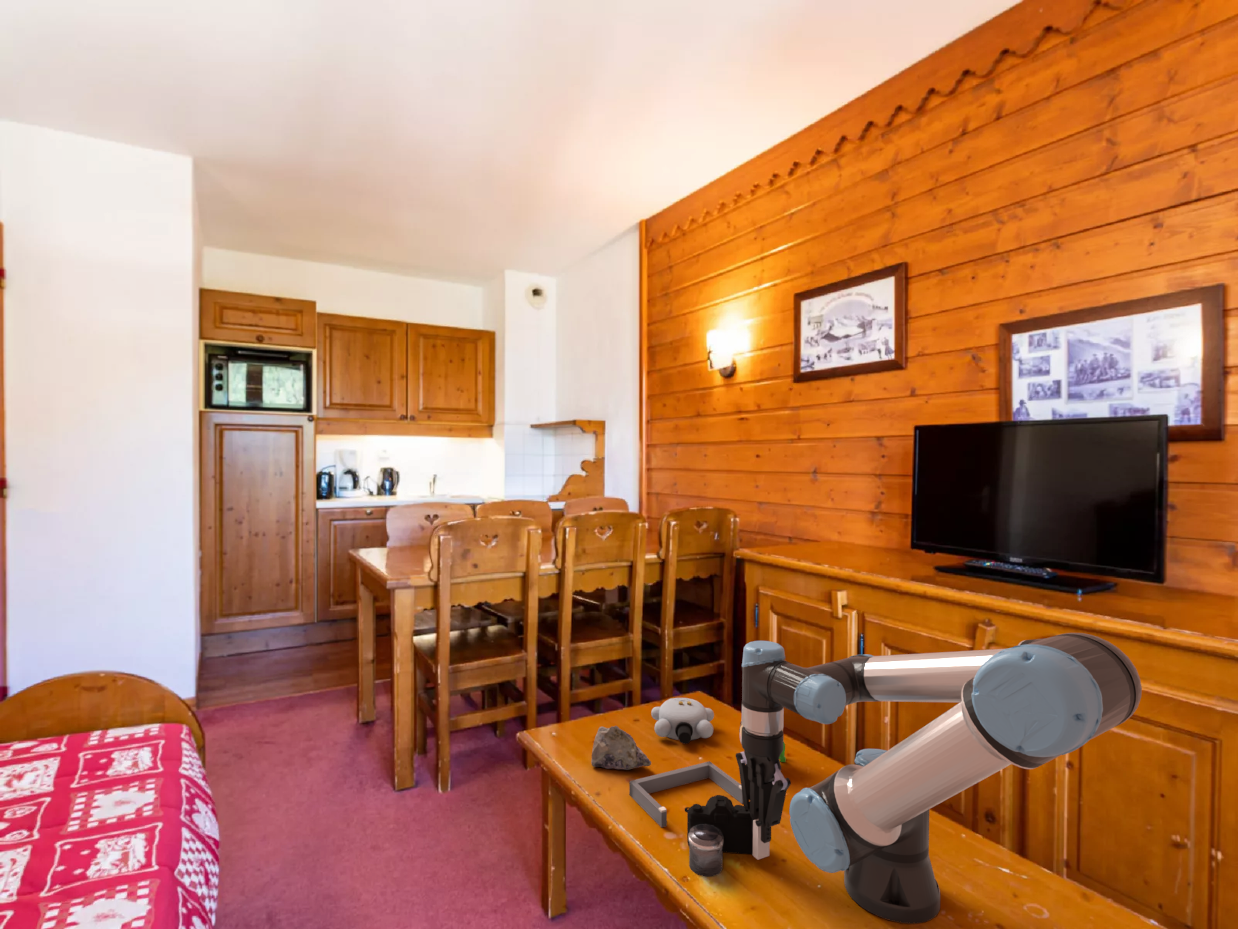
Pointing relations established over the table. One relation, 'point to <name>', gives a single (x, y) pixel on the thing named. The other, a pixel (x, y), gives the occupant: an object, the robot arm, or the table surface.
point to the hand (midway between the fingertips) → (761, 855)
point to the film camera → (724, 823)
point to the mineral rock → (617, 750)
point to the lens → (705, 850)
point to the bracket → (676, 778)
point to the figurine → (683, 720)
